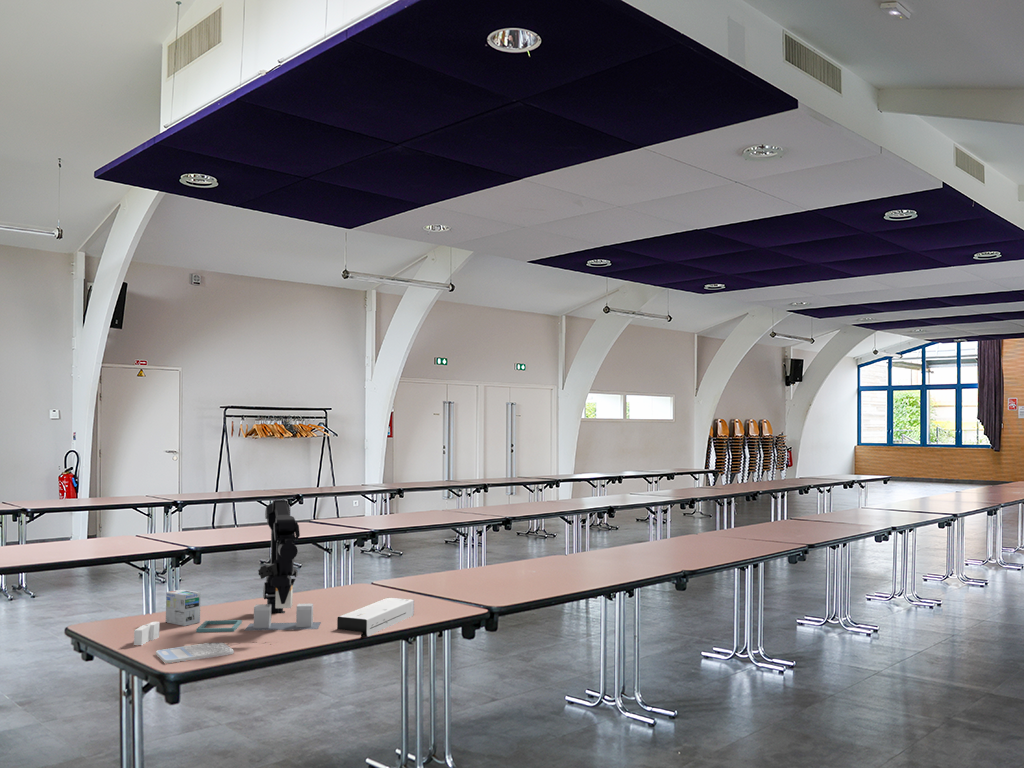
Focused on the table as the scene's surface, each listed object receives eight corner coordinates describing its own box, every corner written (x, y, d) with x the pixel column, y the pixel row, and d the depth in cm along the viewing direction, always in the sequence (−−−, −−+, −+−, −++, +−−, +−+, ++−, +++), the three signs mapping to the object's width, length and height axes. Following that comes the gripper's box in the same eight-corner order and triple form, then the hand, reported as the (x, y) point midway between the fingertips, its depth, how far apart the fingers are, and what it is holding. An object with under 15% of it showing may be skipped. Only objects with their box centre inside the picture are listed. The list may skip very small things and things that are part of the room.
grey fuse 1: (255, 625, 282) (256, 604, 282) (270, 625, 282) (271, 604, 283) (253, 628, 278) (253, 607, 278) (268, 627, 278) (269, 606, 279)
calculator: (234, 655, 252) (234, 649, 252) (165, 666, 240) (165, 659, 240) (221, 645, 263) (221, 639, 263) (154, 655, 251) (154, 649, 251)
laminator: (366, 638, 273) (366, 619, 273) (334, 635, 277) (334, 616, 277) (414, 616, 305) (414, 599, 305) (384, 613, 309) (384, 597, 309)
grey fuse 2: (297, 624, 283) (298, 603, 284) (312, 624, 284) (313, 603, 284) (296, 627, 279) (296, 606, 280) (311, 627, 280) (311, 606, 280)
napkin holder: (136, 650, 257) (136, 631, 257) (116, 644, 264) (117, 626, 264) (180, 640, 269) (180, 622, 270) (160, 635, 276) (161, 617, 276)
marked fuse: (277, 605, 283) (277, 585, 283) (292, 605, 283) (292, 584, 284) (275, 608, 279) (275, 587, 279) (290, 608, 279) (290, 587, 280)
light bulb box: (200, 622, 292) (201, 591, 292) (184, 626, 286) (185, 594, 287) (180, 619, 297) (181, 588, 298) (164, 622, 291) (165, 591, 292)
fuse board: (249, 627, 284) (250, 623, 285) (321, 626, 287) (321, 622, 287) (243, 635, 275) (243, 630, 275) (317, 633, 277) (317, 628, 277)
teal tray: (205, 628, 284) (205, 620, 284) (241, 627, 285) (241, 619, 285) (196, 636, 272) (196, 629, 272) (233, 636, 273) (234, 628, 273)
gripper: (265, 552, 290) (264, 597, 290) (255, 560, 272) (254, 608, 271) (298, 551, 292) (297, 596, 291) (289, 560, 273) (288, 608, 272)
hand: (283, 602), depth 281 cm, fingers closed on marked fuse, 4 cm apart
